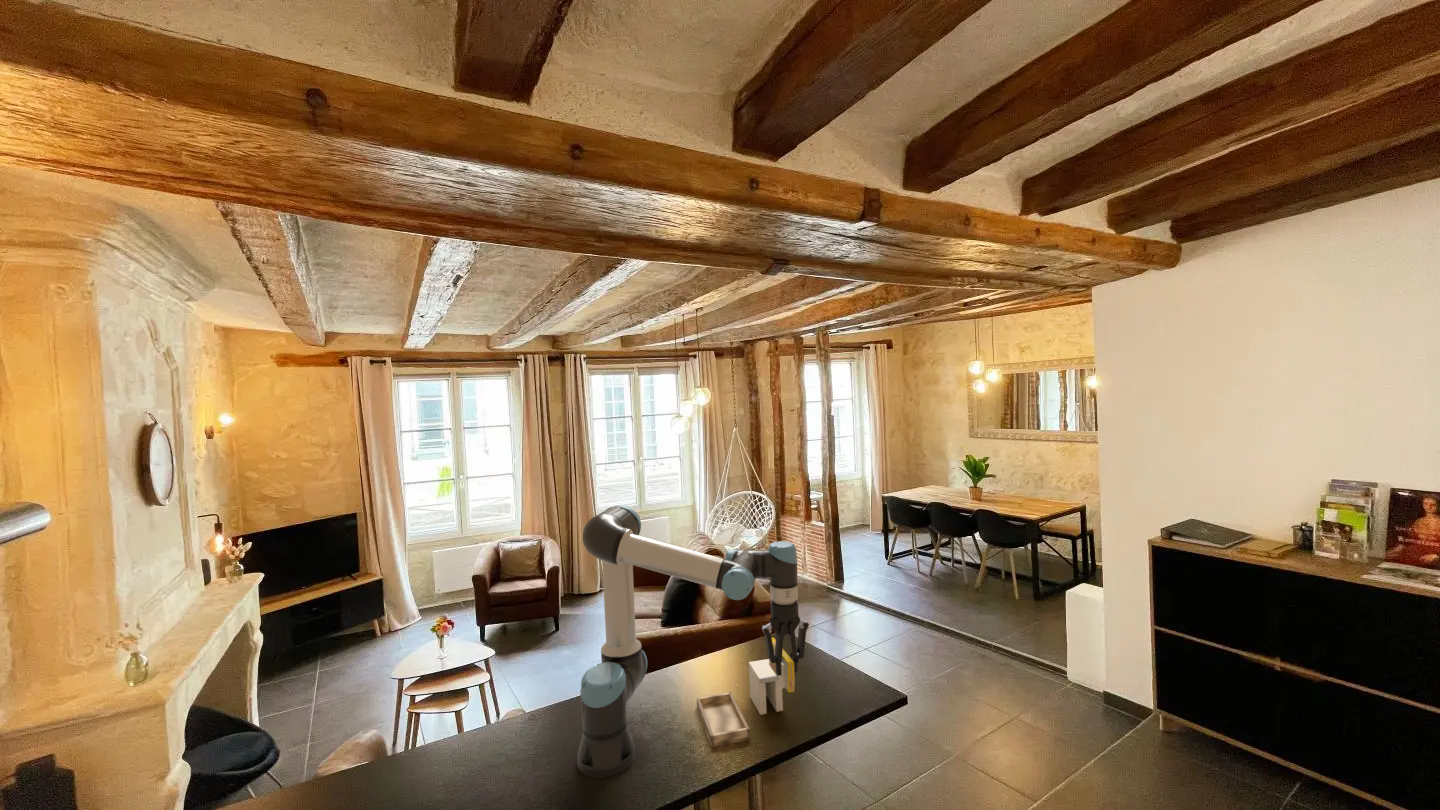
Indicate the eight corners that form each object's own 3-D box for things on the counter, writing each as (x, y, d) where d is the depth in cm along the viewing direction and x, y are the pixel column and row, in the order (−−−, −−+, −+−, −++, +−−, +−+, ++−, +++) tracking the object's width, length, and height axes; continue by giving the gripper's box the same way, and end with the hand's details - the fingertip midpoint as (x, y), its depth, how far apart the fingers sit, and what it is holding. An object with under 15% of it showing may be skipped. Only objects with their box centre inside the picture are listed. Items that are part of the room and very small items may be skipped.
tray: (711, 747, 153) (711, 736, 153) (696, 707, 172) (696, 698, 172) (749, 739, 155) (749, 729, 155) (731, 701, 175) (730, 692, 175)
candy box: (795, 692, 150) (794, 661, 149) (788, 693, 149) (786, 662, 149) (775, 664, 165) (774, 636, 165) (768, 665, 165) (767, 637, 165)
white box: (761, 716, 166) (759, 679, 166) (750, 697, 177) (748, 662, 177) (783, 712, 168) (782, 675, 168) (771, 693, 179) (770, 658, 178)
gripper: (762, 608, 147) (764, 696, 147) (815, 601, 151) (818, 687, 151) (753, 598, 154) (756, 682, 155) (804, 591, 158) (807, 674, 158)
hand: (786, 684), depth 153 cm, fingers closed on candy box, 2 cm apart
